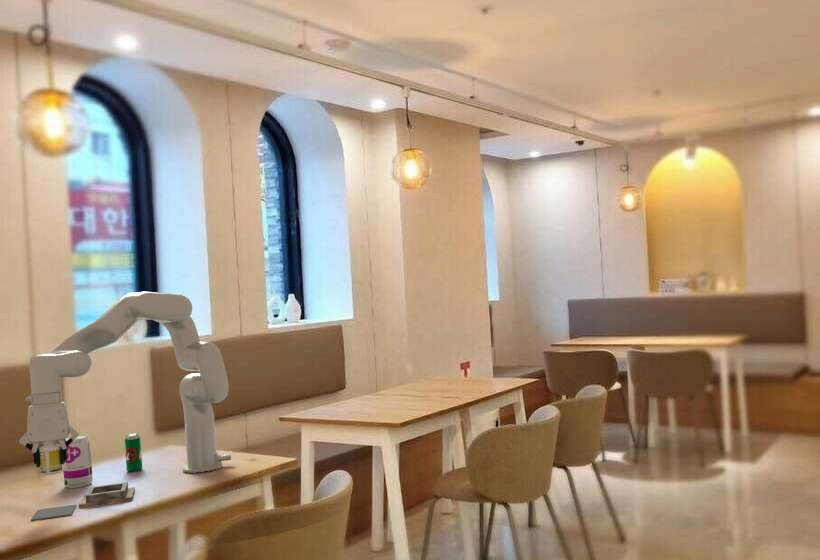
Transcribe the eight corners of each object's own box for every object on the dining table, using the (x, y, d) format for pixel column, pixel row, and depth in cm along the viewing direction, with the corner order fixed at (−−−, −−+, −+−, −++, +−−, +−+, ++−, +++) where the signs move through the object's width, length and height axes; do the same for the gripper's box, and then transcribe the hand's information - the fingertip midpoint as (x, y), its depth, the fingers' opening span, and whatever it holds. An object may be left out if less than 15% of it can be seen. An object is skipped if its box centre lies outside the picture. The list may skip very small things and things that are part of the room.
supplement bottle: (65, 469, 210) (63, 434, 210) (58, 474, 205) (55, 438, 205) (45, 471, 210) (43, 436, 210) (37, 476, 204) (35, 440, 204)
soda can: (144, 470, 253) (141, 434, 253) (128, 473, 250) (126, 437, 250) (140, 468, 257) (138, 432, 257) (125, 470, 254) (122, 435, 254)
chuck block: (134, 490, 226) (134, 480, 226) (132, 500, 215) (131, 490, 215) (84, 497, 222) (84, 487, 222) (78, 508, 211) (78, 497, 211)
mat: (76, 505, 213) (76, 504, 213) (71, 515, 204) (71, 513, 204) (38, 511, 211) (37, 509, 211) (30, 521, 201) (30, 519, 201)
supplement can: (82, 488, 234) (79, 440, 234) (58, 488, 235) (55, 440, 235) (98, 481, 242) (95, 434, 242) (75, 481, 243) (72, 435, 243)
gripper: (9, 404, 201) (13, 472, 201) (78, 397, 206) (82, 463, 206) (15, 400, 209) (19, 466, 208) (82, 394, 213) (86, 458, 213)
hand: (51, 464), depth 207 cm, fingers closed on supplement bottle, 5 cm apart
